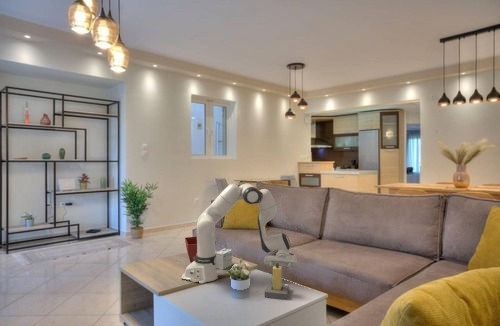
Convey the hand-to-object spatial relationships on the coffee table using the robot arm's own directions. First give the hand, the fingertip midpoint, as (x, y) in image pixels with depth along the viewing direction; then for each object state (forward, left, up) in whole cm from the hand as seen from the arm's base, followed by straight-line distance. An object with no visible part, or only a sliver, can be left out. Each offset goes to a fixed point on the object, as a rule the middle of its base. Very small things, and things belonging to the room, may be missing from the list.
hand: (279, 266), depth 186 cm
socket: (+1, -12, -11) cm, 16 cm away
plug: (0, -12, -10) cm, 16 cm away
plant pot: (-58, +22, -11) cm, 63 cm away
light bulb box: (-40, +20, -11) cm, 46 cm away
